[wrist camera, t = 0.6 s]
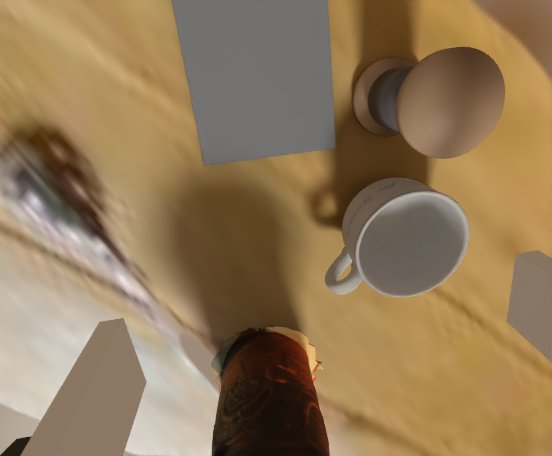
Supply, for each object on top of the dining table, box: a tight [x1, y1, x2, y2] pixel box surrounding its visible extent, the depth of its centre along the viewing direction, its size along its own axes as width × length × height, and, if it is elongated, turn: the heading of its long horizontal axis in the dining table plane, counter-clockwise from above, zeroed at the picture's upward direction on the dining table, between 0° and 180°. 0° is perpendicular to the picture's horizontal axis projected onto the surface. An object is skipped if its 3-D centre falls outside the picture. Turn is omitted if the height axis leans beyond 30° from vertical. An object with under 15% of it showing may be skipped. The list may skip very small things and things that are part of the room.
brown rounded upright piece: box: [352, 47, 505, 159], centre depth 30 cm, size 7×7×12 cm
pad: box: [172, 0, 336, 166], centre depth 33 cm, size 13×16×1 cm
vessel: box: [211, 326, 330, 456], centre depth 38 cm, size 14×14×20 cm
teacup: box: [325, 177, 469, 297], centre depth 36 cm, size 14×11×8 cm
